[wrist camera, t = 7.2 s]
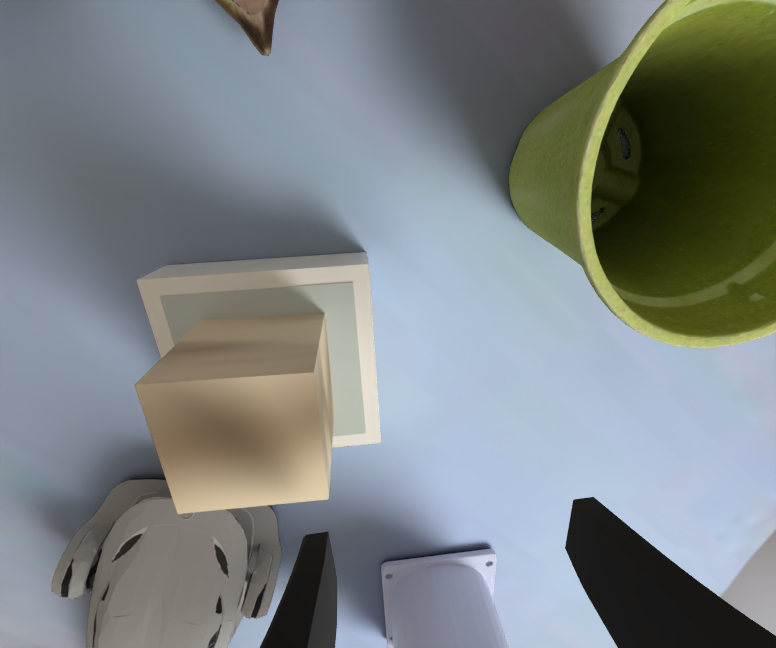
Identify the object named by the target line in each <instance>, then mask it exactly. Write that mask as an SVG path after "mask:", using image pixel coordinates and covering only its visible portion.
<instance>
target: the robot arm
mask: <svg viewBox="0 0 776 648" xmlns="http://www.w3.org/2000/svg"><path fill="white" fill-rule="evenodd" d="M565 549H566V551H567V553H568V555H569V558H570V560H571V562H572V565H573V567H574V569H575V571H576V573H577V575H578V578H579V580H580V582H581V584H582V586H583V588H584V590H585V592H586V593H587V595H588V597H589V599H590V601H591V602H592V604H593V606H594V607H595V609H596V611H597V613H598V614H599V616H600V618H601V620H602V621H603V623H604V625H605V626H606V628H607V630H608V632H609V633H610V635H611V637H612V638H613V640H614V642H615V644H616V645H617V647H618V648H776V636H775V635H773V634H772V633H770V632H769V631H768V630H766V629H765V628H763V627H762V626H760V625H759V624H757V623H756V622H754V621H753V620H751V619H749V618H748V617H747V616H745V615H744V614H743V613H741V612H740V611H738V610H737V609H735V608H734V607H733V606H731V605H730V604H728V603H727V602H726V601H724V600H723V599H722V598H720V597H719V596H717V595H716V594H715V593H713V592H712V591H711V590H709V589H708V588H707V587H705V586H704V585H702V584H701V583H700V582H698V581H697V580H696V579H694V578H693V577H692V576H691V575H689V574H688V573H687V572H685V571H684V570H683V569H681V568H680V567H679V566H678V565H676V564H675V563H674V562H672V561H671V560H670V559H669V558H667V557H666V556H665V555H664V554H662V553H661V552H660V551H658V550H657V549H656V548H655V547H654V546H652V545H651V544H650V543H649V542H647V541H646V540H645V539H644V538H642V537H641V536H640V535H639V534H638V533H636V532H635V531H634V530H633V529H631V528H630V527H629V526H628V525H627V524H625V523H624V522H623V521H622V520H621V519H619V518H618V517H617V516H616V515H615V514H613V513H612V512H611V511H610V510H609V509H607V508H606V507H605V506H604V505H602V504H601V503H600V502H599V501H598V500H596V499H595V498H594V497H590V498H582V499H575V500H573V505H572V511H571V517H570V523H569V529H568V535H567V541H566V547H565ZM496 560H497V556H496V553H495V551H494V550H492V549H484V550H476V551H468V552H460V553H452V554H444V555H437V556H429V557H421V558H413V559H405V560H397V561H389V562H385V563H383V564H382V566H381V574H382V587H383V599H384V612H385V624H386V637H387V647H388V648H509V646H508V643H507V640H506V637H505V634H504V631H503V628H502V625H501V622H500V619H499V616H498V613H497V610H496V607H495V604H494V602H493V590H494V580H495V570H496ZM336 628H337V578H336V572H335V567H334V561H333V555H332V550H331V544H330V539H329V533H328V532H324V533H316V534H309V535H306V536H305V537H304V538H303V541H302V544H301V547H300V551H299V554H298V557H297V560H296V562H295V565H294V568H293V571H292V573H291V576H290V579H289V581H288V584H287V586H286V589H285V592H284V594H283V596H282V599H281V601H280V603H279V606H278V608H277V611H276V613H275V615H274V618H273V620H272V622H271V625H270V627H269V629H268V631H267V634H266V636H265V638H264V640H263V642H262V644H261V646H260V648H335V640H336Z"/></svg>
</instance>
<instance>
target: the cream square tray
mask: <svg viewBox="0 0 776 648" xmlns="http://www.w3.org/2000/svg"><path fill="white" fill-rule="evenodd" d="M136 281H137V284H138V287H139V290H140V293H141V297H142V300H143V303H144V306H145V309H146V312H147V315H148V319H149V322H150V325H151V328H152V331H153V334H154V338H155V341H156V344H157V347H158V350H159V353H160V356H161V359H162V358H163V357H164V356H165V355H166V354H167V353H168V352H169V351H170V350H171V349H172V348H173V347H174V346H175V345H176V344H177V343H178V342H179V341H180V340H181V339H182V338H183V337H184V336H185V335H186V334H187V333H188V332H189V331H190V330H191V329H192V328H193V327H194V326H195V325H196V324H197V323H198V322H199V321H200V320H210V319H228V318H245V317H263V316H280V315H297V314H315V313H325V322H326V332H327V342H328V353H329V363H330V373H331V383H332V393H333V404H334V426H333V441H332V448H333V447H343V446H353V445H363V444H372V443H381V436H380V421H379V406H378V392H377V377H376V362H375V347H374V332H373V317H372V303H371V288H370V273H369V262H368V257H367V253H366V252H359V253H343V254H328V255H313V256H298V257H282V258H267V259H252V260H237V261H221V262H206V263H191V264H176V265H165V266H163V267H161V268H159V269H157V270H155V271H153V272H151V273H149V274H147V275H145V276H143V277H141V278H139V279H137V280H136Z"/></svg>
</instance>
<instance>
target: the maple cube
mask: <svg viewBox="0 0 776 648" xmlns="http://www.w3.org/2000/svg"><path fill="white" fill-rule="evenodd" d="M135 388H136V391H137V394H138V397H139V400H140V403H141V406H142V409H143V412H144V415H145V418H146V421H147V424H148V427H149V430H150V433H151V436H152V439H153V442H154V445H155V448H156V451H157V454H158V457H159V460H160V463H161V466H162V469H163V472H164V475H165V478H166V481H167V484H168V487H169V490H170V493H171V496H172V499H173V502H174V505H175V507H176V510H177V513H178V514H183V513H194V512H204V511H214V510H224V509H235V508H245V507H255V506H266V505H276V504H286V503H297V502H307V501H317V500H327V499H329V487H330V472H331V456H332V441H333V426H334V404H333V393H332V383H331V373H330V363H329V353H328V342H327V332H326V322H325V313H315V314H297V315H280V316H263V317H245V318H228V319H210V320H200V321H199V322H198V323H197V324H196V325H195V326H194V327H193V328H192V329H191V330H190V331H189V332H188V333H187V334H186V335H185V336H184V337H183V338H182V339H181V340H180V341H179V342H178V343H177V344H176V345H175V346H174V347H173V348H172V349H171V350H170V351H169V352H168V353H167V354H166V355H165V356H164V357H163V358H162V359H161V360H159V361H158V362H157V363H156V364H155V365H154V366H153V367H152V368H151V369H150V370H149V371H148V372H147V373H146V374H145V375H144V376H143V377H142V378H141V379H140V380H139V381H138V382H137V383H136V384H135Z"/></svg>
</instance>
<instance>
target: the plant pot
mask: <svg viewBox="0 0 776 648" xmlns="http://www.w3.org/2000/svg"><path fill="white" fill-rule="evenodd" d="M619 128H620V129H622V130H623V131H624V132H625V133H626V135H627V137H628V140H629V143H630V154H629V158H627V159H624V158H623V151H622V144H621V140H620V133H618V129H619ZM509 190H510V196H511V200H512V203H513V206H514V208H515V210H516V212H517V214H518V216H519V217H520V219H521V220H522V221H523V223H524V224H525V225H526V226H527V227H528V228H530V229H531V230H532V231H533V232H535V233H536V234H537V235H539V236H540V237H542V238H543V239H545V240H546V241H548V242H549V243H551V244H552V245H554V246H555V247H557V248H558V249H559V250H561V251H562V252H563V253H565V254H566V255H568V256H569V257H570V258H572V259H573V260H574V261H576V262H577V263H579V264H580V265H581V266H582V267H583V269H584V272H585V274H586V276H587V278H588V280H589V282H590V284H591V285H592V287H593V288H594V290H595V292H596V293H597V295H598V296H599V297H600V299H601V300H602V301H603V302H604V304H605V305H606V306H607V307H608V309H609V310H610V311H611V312H612V313H613V314H614V315H616V316H617V317H618V318H619V319H620V320H621V321H623V322H624V323H625V324H626V325H628V326H629V327H631V328H632V329H634V330H636V331H638V332H639V333H641V334H643V335H645V336H647V337H649V338H652V339H655V340H657V341H660V342H664V343H667V344H670V345H674V346H681V347H690V348H712V347H720V346H728V345H733V344H738V343H742V342H747V341H751V340H754V339H758V338H762V337H764V336H767V335H770V334H772V333H774V332H776V0H665V1H664V2H663V4H662V5H661V6H660V7H659V8H658V9H657V10H656V11H655V12H654V13H653V15H652V16H651V17H650V18H649V19H648V20H647V21H646V23H645V24H644V25H643V27H642V28H641V29H640V30H639V32H638V33H637V34H636V36H635V37H634V39H633V40H632V42H631V43H630V44H629V46H628V47H627V49H626V50H625V51H624V52H623V54H622V55H621V56H620V57H619V58H617V59H616V60H614V61H613V62H611V63H610V64H609V65H607V66H606V67H604V68H603V69H601V70H600V71H598V72H597V73H596V74H594V75H593V76H591V77H590V78H588V79H587V80H585V81H584V82H582V83H581V84H580V85H578V86H577V87H575V88H573V89H572V90H570V91H569V92H567V93H566V94H564V95H563V96H561V97H560V98H559V99H557V100H556V101H554V102H553V103H551V104H550V105H548V106H547V107H546V108H545V109H543V110H542V111H541V112H540V113H539V114H538V115H537V116H536V117H535V118H534V119H533V120H532V121H531V122H530V124H529V125H528V126H527V128H526V129H525V131H524V132H523V135H522V137H521V139H520V141H519V144H518V147H517V149H516V152H515V155H514V157H513V160H512V163H511V166H510V172H509ZM602 208H604V211H603V214H602V215H601V216H600V217H598V218H597V219H595V220H594V221H592V222H591V215H592V214H594V213H596V212H597V211H599V210H600V209H602Z"/></svg>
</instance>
